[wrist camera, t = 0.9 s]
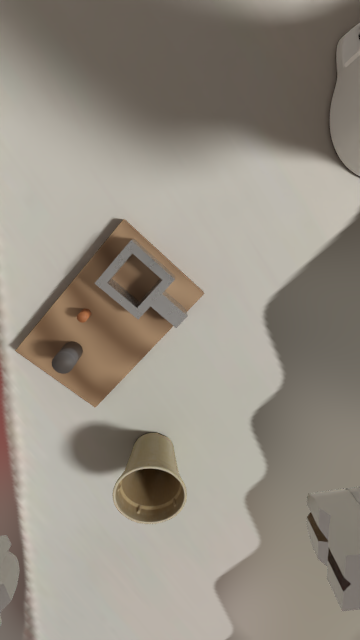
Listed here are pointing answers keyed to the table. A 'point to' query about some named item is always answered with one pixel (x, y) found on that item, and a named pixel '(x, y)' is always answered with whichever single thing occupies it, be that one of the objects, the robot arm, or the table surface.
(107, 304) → the board
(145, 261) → the grey square frame
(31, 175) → the table surface
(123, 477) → the flower pot
